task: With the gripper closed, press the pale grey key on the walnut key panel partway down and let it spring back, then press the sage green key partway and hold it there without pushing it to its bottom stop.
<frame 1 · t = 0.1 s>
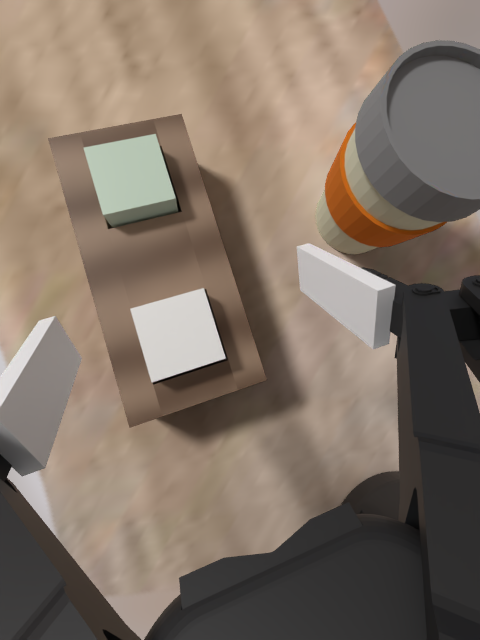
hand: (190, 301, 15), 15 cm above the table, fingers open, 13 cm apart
sage key: (137, 190, 26), point 5 cm above the table, slide at 0.2 cm
key panel: (166, 277, 31), on the table
reusable coffee cup: (349, 219, 34), on the table
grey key: (181, 335, 25), point 5 cm above the table, slide at 0.1 cm
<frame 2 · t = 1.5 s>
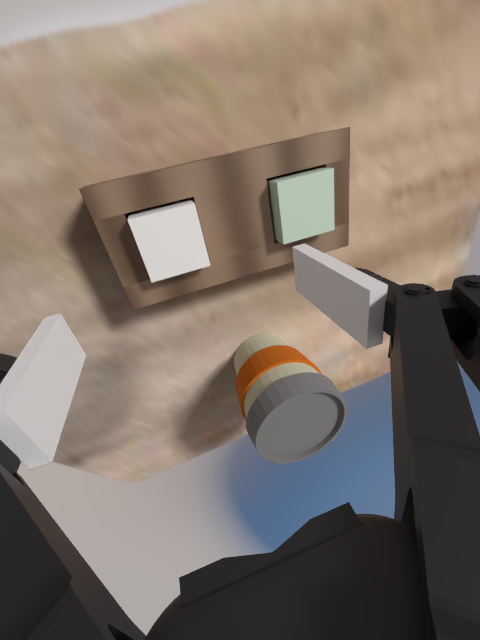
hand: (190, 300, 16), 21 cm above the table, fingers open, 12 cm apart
sage key: (296, 204, 31), point 5 cm above the table, slide at 0.2 cm
key panel: (223, 213, 34), on the table
reusable coffee cup: (259, 356, 46), on the table
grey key: (170, 238, 28), point 5 cm above the table, slide at 0.1 cm
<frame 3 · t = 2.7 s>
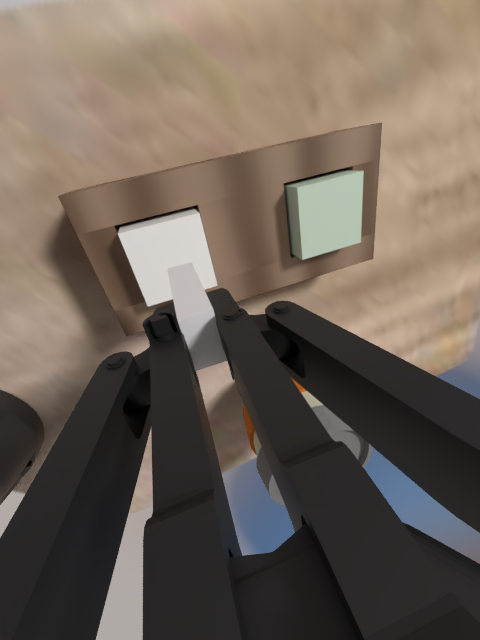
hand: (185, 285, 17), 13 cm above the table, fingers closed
sage key: (316, 213, 26), point 5 cm above the table, slide at 0.2 cm
key panel: (230, 222, 30), on the table
reusable coffee cup: (267, 377, 42), on the table
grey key: (169, 253, 24), point 5 cm above the table, slide at 0.1 cm
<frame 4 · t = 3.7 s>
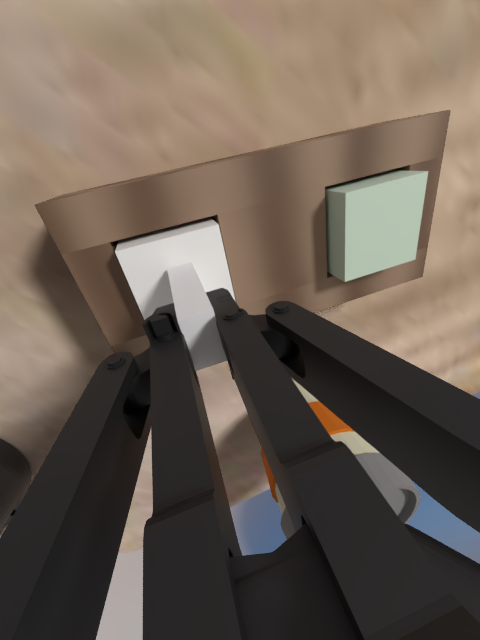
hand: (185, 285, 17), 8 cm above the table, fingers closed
sage key: (360, 223, 21), point 5 cm above the table, slide at 0.2 cm
key panel: (251, 232, 25), on the table
reusable coffee cup: (286, 404, 37), on the table
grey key: (179, 272, 20), point 5 cm above the table, slide at 0.7 cm, touching gripper
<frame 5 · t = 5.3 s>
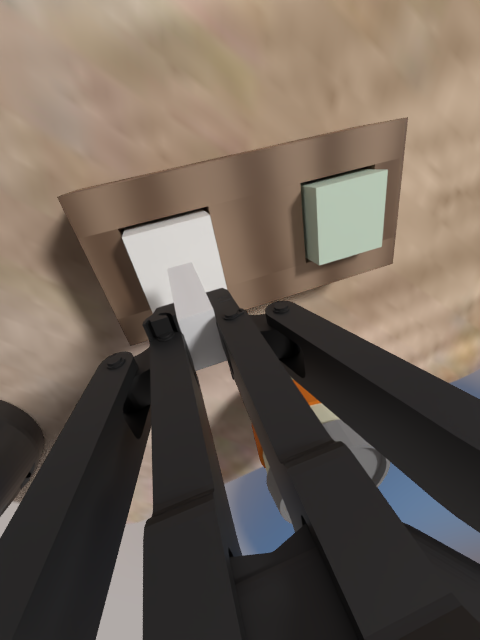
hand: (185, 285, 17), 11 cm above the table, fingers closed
sage key: (334, 215, 24), point 5 cm above the table, slide at 0.2 cm
key panel: (241, 224, 28), on the table
reusable coffee cup: (276, 385, 40), on the table
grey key: (176, 258, 22), point 5 cm above the table, slide at 0.2 cm
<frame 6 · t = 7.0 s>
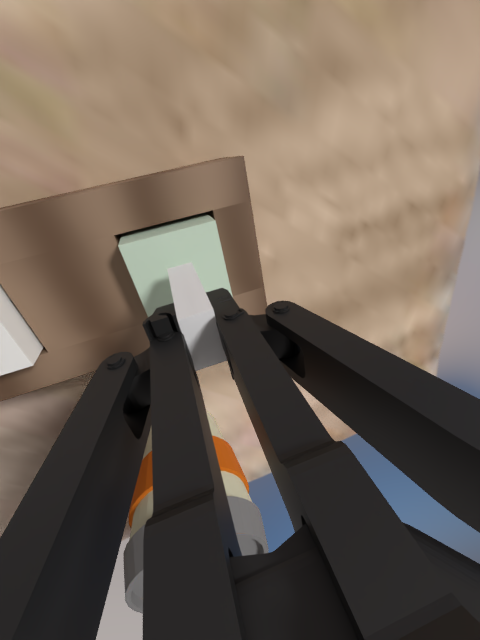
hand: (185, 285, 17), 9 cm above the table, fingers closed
sage key: (178, 266, 21), point 5 cm above the table, slide at 0.2 cm
key panel: (92, 269, 24), on the table
reusable coffee cup: (182, 431, 36), on the table
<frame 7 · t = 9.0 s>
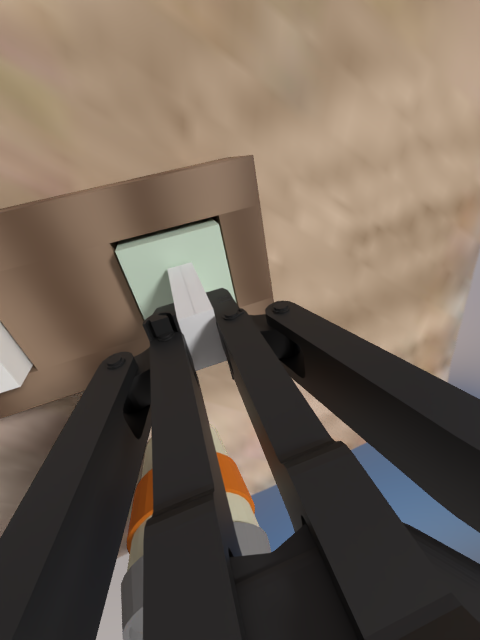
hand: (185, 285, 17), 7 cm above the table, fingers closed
sage key: (179, 272, 20), point 5 cm above the table, slide at 1.0 cm, touching gripper
key panel: (88, 278, 22), on the table
reusable coffee cup: (183, 445, 35), on the table
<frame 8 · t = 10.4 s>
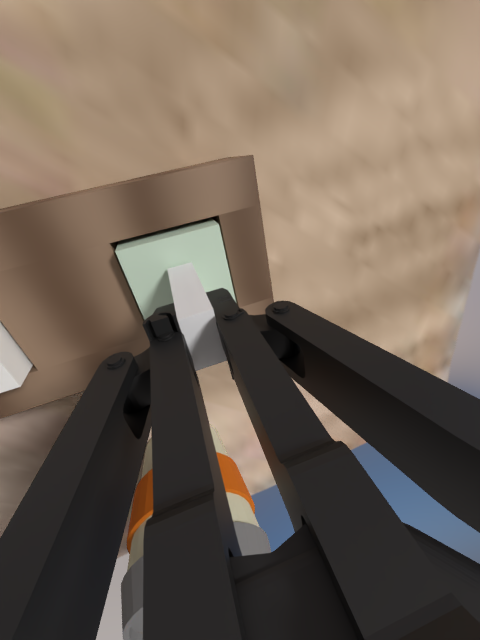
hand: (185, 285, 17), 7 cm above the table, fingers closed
sage key: (179, 272, 20), point 5 cm above the table, slide at 1.0 cm, touching gripper
key panel: (88, 278, 22), on the table
reusable coffee cup: (183, 445, 35), on the table
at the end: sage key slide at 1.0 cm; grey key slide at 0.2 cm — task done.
